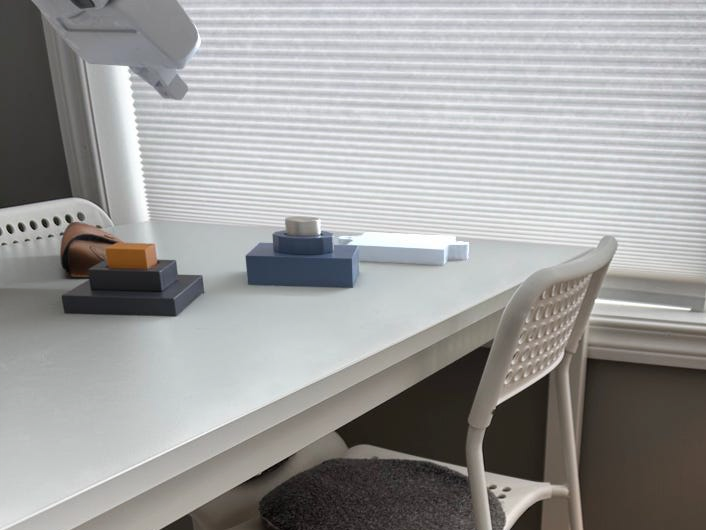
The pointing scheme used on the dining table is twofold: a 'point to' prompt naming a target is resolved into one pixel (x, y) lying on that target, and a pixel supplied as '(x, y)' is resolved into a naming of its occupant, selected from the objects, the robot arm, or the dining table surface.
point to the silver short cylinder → (302, 226)
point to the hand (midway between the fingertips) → (177, 94)
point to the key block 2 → (303, 262)
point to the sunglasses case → (84, 248)
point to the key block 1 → (134, 291)
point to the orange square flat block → (131, 255)
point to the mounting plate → (407, 248)
